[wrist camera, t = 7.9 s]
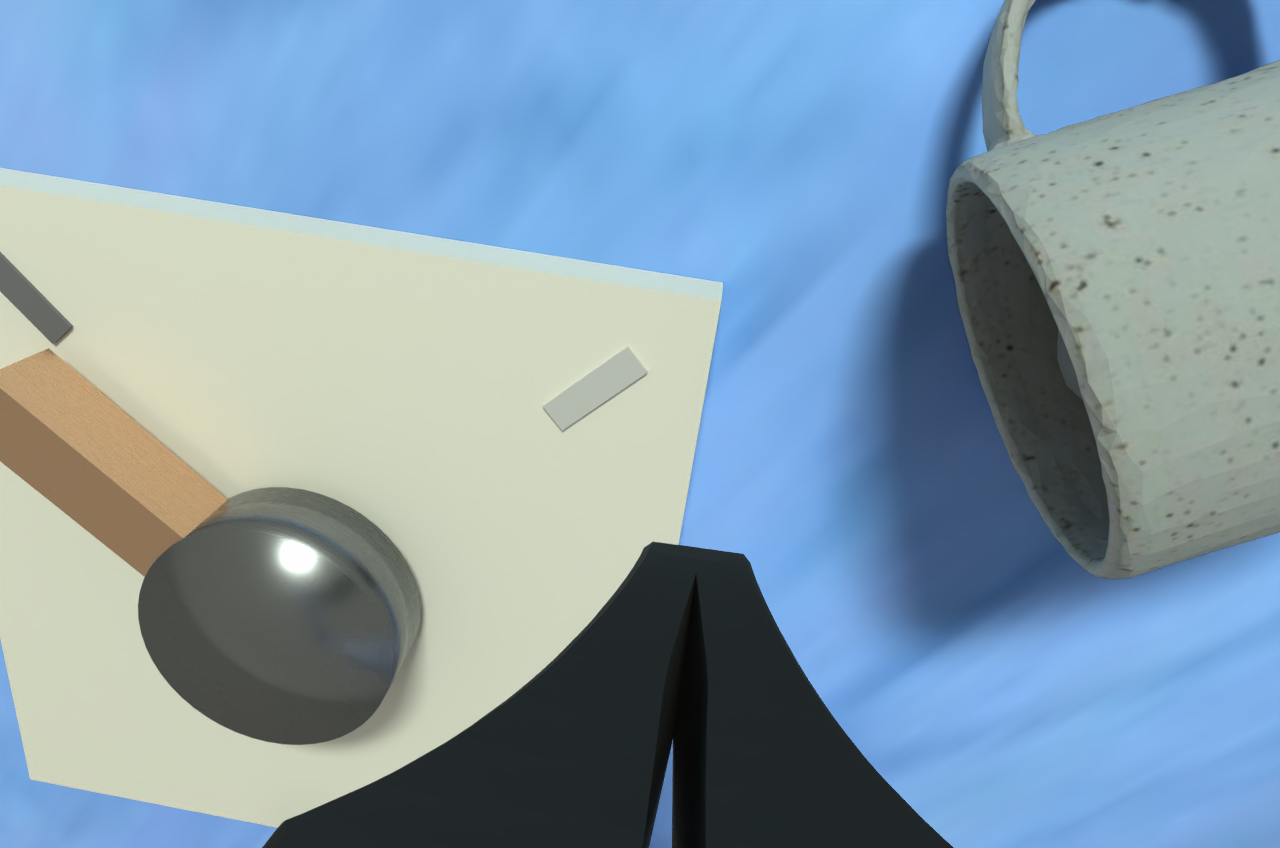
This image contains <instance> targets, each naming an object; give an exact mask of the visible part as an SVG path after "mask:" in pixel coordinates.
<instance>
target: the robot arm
mask: <svg viewBox="0 0 1280 848" xmlns="http://www.w3.org/2000/svg"><path fill="white" fill-rule="evenodd" d="M672 740H673V803H672V848H953V847H952V846H951V845H950V844H949V843H948V842H947V841H945V840H944V839H943V838H942V837H941V836H940V835H939V834H938V833H937V832H936V831H935V830H934V829H933V828H932V827H931V826H930V825H929V824H928V823H926V822H925V821H924V820H923V819H922V818H921V817H920V816H919V815H918V814H917V813H916V812H915V811H914V810H913V809H912V808H911V806H910V805H909V804H908V803H907V802H906V801H905V800H904V799H903V798H902V797H901V796H900V795H899V794H898V793H897V792H896V791H895V790H894V789H893V788H892V787H891V786H890V785H889V784H888V783H887V782H886V781H885V780H884V779H883V778H882V776H881V775H880V774H879V773H878V772H877V771H876V770H875V769H874V767H873V766H872V765H871V764H870V763H869V762H868V761H867V759H866V758H865V757H864V756H863V755H862V753H861V752H860V751H859V750H858V748H857V747H856V746H855V744H854V743H853V742H852V741H851V739H850V738H849V737H848V736H847V734H846V733H845V732H844V731H843V729H842V728H841V727H840V725H839V724H838V722H837V721H836V720H835V718H834V717H833V716H832V714H831V713H830V711H829V710H828V709H827V707H826V706H825V704H824V703H823V701H822V700H821V698H820V697H819V695H818V694H817V692H816V691H815V689H814V688H813V686H812V685H811V683H810V682H809V680H808V678H807V677H806V675H805V674H804V672H803V670H802V669H801V667H800V665H799V664H798V662H797V660H796V659H795V657H794V655H793V653H792V652H791V650H790V648H789V646H788V644H787V643H786V641H785V639H784V637H783V635H782V634H781V632H780V630H779V628H778V626H777V624H776V622H775V620H774V618H773V616H772V614H771V612H770V610H769V608H768V606H767V604H766V602H765V600H764V597H763V595H762V593H761V591H760V588H759V586H758V583H757V581H756V578H755V576H754V573H753V570H752V567H751V564H750V562H749V561H748V559H747V558H746V557H745V555H744V554H739V553H732V552H724V551H717V550H710V549H703V548H696V547H689V546H682V545H674V544H667V543H660V542H652V543H650V544H649V545H647V546H646V547H644V548H643V551H642V553H641V555H640V557H639V558H638V560H637V562H636V563H635V565H634V567H633V568H632V570H631V571H630V573H629V574H628V575H627V577H626V578H625V580H624V581H623V582H622V584H621V585H620V586H619V588H618V589H617V590H616V592H615V593H614V594H613V595H612V597H611V598H610V599H609V600H608V601H607V603H606V604H605V605H604V606H603V607H602V609H601V610H600V611H599V612H598V613H597V615H596V616H595V617H594V618H593V619H592V621H591V622H590V623H589V624H588V625H587V626H586V627H585V628H584V629H583V630H582V631H581V632H580V633H579V634H578V635H577V636H576V637H575V638H574V639H573V640H572V642H571V643H570V644H569V645H568V646H567V647H566V648H565V649H564V650H563V651H562V652H561V653H560V654H559V655H558V656H557V657H556V658H555V659H554V660H553V661H552V662H550V663H549V664H548V665H547V666H546V667H545V668H544V669H543V670H542V671H541V672H539V673H538V674H537V675H536V676H535V677H534V678H533V679H531V680H530V681H529V682H528V683H527V684H525V685H524V686H523V687H522V688H521V689H519V690H518V691H517V692H516V693H514V694H513V695H512V696H511V697H509V698H508V699H507V700H506V701H504V702H503V703H502V704H500V705H499V706H497V707H496V708H495V709H493V710H492V711H490V712H489V713H488V714H486V715H485V716H484V717H482V718H481V719H479V720H478V721H477V722H475V723H474V724H473V725H471V726H470V727H468V728H467V729H465V730H464V731H462V732H461V733H459V734H458V735H456V736H455V737H453V738H451V739H450V740H448V741H447V742H445V743H444V744H442V745H440V746H438V747H437V748H435V749H433V750H431V751H430V752H428V753H426V754H424V755H423V756H421V757H419V758H417V759H416V760H414V761H412V762H410V763H409V764H407V765H405V766H403V767H402V768H400V769H398V770H396V771H394V772H392V773H391V774H389V775H387V776H385V777H383V778H381V779H379V780H377V781H374V782H372V783H370V784H368V785H366V786H364V787H362V788H359V789H357V790H355V791H353V792H350V793H348V794H346V795H343V796H341V797H339V798H337V799H334V800H332V801H330V802H328V803H325V804H323V805H321V806H319V807H316V808H314V809H312V810H309V811H307V812H305V813H302V814H300V815H297V816H295V817H292V818H290V819H287V820H285V821H284V822H282V823H281V825H280V826H279V827H278V828H277V830H276V831H275V832H274V833H273V835H272V836H271V837H270V838H269V840H268V841H267V842H266V844H265V845H264V846H263V847H262V848H649V844H650V840H651V835H652V831H653V826H654V822H655V817H656V813H657V808H658V804H659V799H660V795H661V790H662V786H663V781H664V777H665V772H666V768H667V763H668V758H669V754H670V749H671V745H672Z"/></svg>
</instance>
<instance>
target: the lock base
mask: <svg viewBox="0 0 1280 848" xmlns="http://www.w3.org/2000/svg"><path fill="white" fill-rule="evenodd" d="M722 290H723V283H722V282H716V281H710V280H703V279H697V278H691V277H684V276H678V275H672V274H666V273H659V272H653V271H647V270H640V269H634V268H628V267H622V266H615V265H609V264H603V263H596V262H590V261H584V260H578V259H571V258H565V257H559V256H552V255H546V254H540V253H534V252H527V251H521V250H515V249H508V248H502V247H496V246H490V245H483V244H477V243H471V242H464V241H458V240H452V239H445V238H439V237H433V236H427V235H420V234H414V233H408V232H401V231H395V230H389V229H383V228H376V227H370V226H364V225H357V224H351V223H345V222H339V221H332V220H326V219H320V218H313V217H307V216H301V215H295V214H288V213H282V212H276V211H269V210H263V209H257V208H251V207H244V206H238V205H232V204H225V203H219V202H213V201H206V200H200V199H194V198H188V197H181V196H175V195H169V194H162V193H156V192H150V191H144V190H137V189H131V188H125V187H118V186H112V185H106V184H100V183H93V182H87V181H81V180H74V179H68V178H62V177H56V176H49V175H43V174H37V173H30V172H24V171H18V170H12V169H5V168H0V369H2V368H4V367H6V366H9V365H11V364H13V363H15V362H18V361H20V360H22V359H25V358H27V357H29V356H32V355H34V354H36V353H39V352H41V351H43V350H45V349H48V348H49V349H50V350H51V351H53V352H54V353H55V354H56V355H57V356H59V357H60V358H61V359H62V360H63V361H64V362H66V363H67V364H68V365H69V366H70V367H72V368H73V369H74V370H75V371H76V372H77V373H79V374H80V375H81V376H82V377H83V378H85V379H86V380H87V381H88V382H89V383H90V384H92V385H93V386H94V387H95V388H96V389H98V390H99V391H100V392H101V393H102V394H103V395H105V396H106V397H107V398H108V399H109V400H111V401H112V402H113V403H114V404H115V405H116V406H118V407H119V408H120V409H121V410H122V411H124V412H125V413H126V414H127V415H128V416H129V417H131V418H132V419H133V420H134V421H135V422H137V423H138V424H139V425H140V426H141V427H143V428H144V429H145V430H146V431H147V432H148V433H150V434H151V435H152V436H153V437H154V438H156V439H157V440H158V441H159V442H160V443H161V444H163V445H164V446H165V447H166V448H167V449H169V450H170V451H171V452H172V453H173V454H174V455H176V456H177V457H178V458H179V459H180V460H182V461H183V462H184V463H185V464H186V465H187V466H189V467H190V468H191V469H192V470H193V471H195V472H196V473H197V474H198V475H199V476H200V477H202V478H203V479H204V480H205V481H206V482H208V483H209V484H210V485H211V486H212V487H213V488H215V489H216V490H217V491H218V492H219V493H221V494H222V495H223V496H224V497H225V498H226V499H229V498H231V497H233V496H235V495H238V494H240V493H242V492H246V491H250V490H254V489H260V488H268V487H288V488H296V489H303V490H307V491H311V492H315V493H319V494H322V495H325V496H327V497H330V498H333V499H335V500H337V501H339V502H341V503H343V504H345V505H347V506H349V507H351V508H353V509H354V510H356V511H357V512H359V513H361V514H362V515H364V516H365V517H366V518H368V519H369V520H370V521H371V522H373V523H374V524H375V525H376V526H378V527H379V528H380V529H381V530H382V531H383V532H384V533H385V534H386V535H387V536H388V537H389V538H390V540H391V541H392V542H393V543H394V545H395V546H396V547H397V548H398V549H399V551H400V552H401V554H402V556H403V557H404V559H405V560H406V562H407V564H408V566H409V568H410V570H411V572H412V574H413V576H414V579H415V582H416V585H417V588H418V593H419V598H420V609H421V618H420V625H419V630H418V634H417V637H416V640H415V642H414V644H413V646H412V648H411V650H410V652H409V654H408V656H407V657H406V659H405V661H404V663H403V665H402V666H401V668H400V670H399V672H398V674H397V675H396V677H395V679H394V681H393V683H392V684H391V686H390V688H389V690H388V692H387V693H386V695H385V697H384V699H383V701H382V702H381V704H380V706H379V707H378V708H377V710H376V711H375V713H374V714H373V715H372V716H371V717H370V718H369V719H368V720H367V721H366V722H365V723H364V724H363V725H361V726H360V727H358V728H357V729H355V730H354V731H352V732H350V733H348V734H346V735H344V736H342V737H340V738H337V739H334V740H330V741H327V742H322V743H316V744H306V745H288V744H278V743H271V742H266V741H262V740H258V739H254V738H251V737H248V736H245V735H242V734H239V733H237V732H234V731H232V730H230V729H228V728H226V727H223V726H221V725H220V724H218V723H216V722H214V721H213V720H211V719H209V718H207V717H206V716H205V715H203V714H202V713H200V712H199V711H198V710H196V709H195V708H193V707H192V706H191V705H190V704H189V703H187V702H186V701H185V700H184V699H183V698H182V697H181V696H180V695H179V694H178V693H177V692H176V691H175V690H174V689H173V688H172V687H171V686H170V685H169V684H168V682H167V681H166V680H165V679H164V677H163V676H162V675H161V674H160V672H159V670H158V669H157V667H156V666H155V664H154V663H153V661H152V659H151V657H150V655H149V653H148V651H147V649H146V646H145V643H144V640H143V637H142V635H141V630H140V625H139V620H138V601H139V593H140V589H141V586H142V583H143V580H144V578H145V577H144V576H143V575H141V574H140V573H139V572H138V571H136V570H135V569H134V568H133V567H131V566H130V565H129V564H128V563H126V562H125V561H124V560H123V559H121V558H120V557H119V556H118V555H116V554H115V553H114V552H113V551H111V550H110V549H109V548H108V547H106V546H105V545H104V544H103V543H101V542H100V541H99V540H98V539H96V538H95V537H94V536H93V535H91V534H90V533H89V532H88V531H87V530H85V529H84V528H83V527H82V526H80V525H79V524H78V523H77V522H75V521H74V520H73V519H72V518H70V517H69V516H68V515H67V514H65V513H64V512H63V511H62V510H60V509H59V508H58V507H57V506H55V505H54V504H53V503H52V502H50V501H49V500H48V499H47V498H45V497H44V496H43V495H42V494H40V493H39V492H38V491H37V490H35V489H34V488H33V487H32V486H30V485H29V484H28V483H27V482H25V481H24V480H23V479H22V478H20V477H19V476H18V475H17V474H15V473H14V472H13V471H12V470H10V469H9V468H8V467H7V466H5V465H4V464H3V463H2V462H0V638H1V643H2V648H3V652H4V657H5V662H6V667H7V671H8V676H9V681H10V686H11V690H12V695H13V700H14V704H15V709H16V714H17V719H18V723H19V728H20V733H21V738H22V742H23V747H24V752H25V757H26V761H27V766H28V771H29V776H30V779H31V780H36V781H41V782H47V783H52V784H57V785H62V786H67V787H72V788H77V789H82V790H87V791H93V792H98V793H103V794H108V795H113V796H118V797H123V798H128V799H133V800H139V801H144V802H149V803H154V804H159V805H164V806H169V807H174V808H180V809H185V810H190V811H195V812H200V813H205V814H210V815H215V816H220V817H226V818H231V819H236V820H241V821H246V822H251V823H256V824H261V825H267V826H272V827H277V828H278V827H279V826H280V825H281V823H282V822H284V821H285V820H287V819H290V818H292V817H295V816H297V815H300V814H302V813H305V812H307V811H309V810H312V809H314V808H316V807H319V806H321V805H323V804H325V803H328V802H330V801H332V800H334V799H337V798H339V797H341V796H343V795H346V794H348V793H350V792H353V791H355V790H357V789H359V788H362V787H364V786H366V785H368V784H370V783H372V782H374V781H377V780H379V779H381V778H383V777H385V776H387V775H389V774H391V773H392V772H394V771H396V770H398V769H400V768H402V767H403V766H405V765H407V764H409V763H410V762H412V761H414V760H416V759H417V758H419V757H421V756H423V755H424V754H426V753H428V752H430V751H431V750H433V749H435V748H437V747H438V746H440V745H442V744H444V743H445V742H447V741H448V740H450V739H451V738H453V737H455V736H456V735H458V734H459V733H461V732H462V731H464V730H465V729H467V728H468V727H470V726H471V725H473V724H474V723H475V722H477V721H478V720H479V719H481V718H482V717H484V716H485V715H486V714H488V713H489V712H490V711H492V710H493V709H495V708H496V707H497V706H499V705H500V704H502V703H503V702H504V701H506V700H507V699H508V698H509V697H511V696H512V695H513V694H514V693H516V692H517V691H518V690H519V689H521V688H522V687H523V686H524V685H525V684H527V683H528V682H529V681H530V680H531V679H533V678H534V677H535V676H536V675H537V674H538V673H539V672H541V671H542V670H543V669H544V668H545V667H546V666H547V665H548V664H549V663H550V662H552V661H553V660H554V659H555V658H556V657H557V656H558V655H559V654H560V653H561V652H562V651H563V650H564V649H565V648H566V647H567V646H568V645H569V644H570V643H571V642H572V640H573V639H574V638H575V637H576V636H577V635H578V634H579V633H580V632H581V631H582V630H583V629H584V628H585V627H586V626H587V625H588V624H589V623H590V622H591V621H592V619H593V618H594V617H595V616H596V615H597V613H598V612H599V611H600V610H601V609H602V607H603V606H604V605H605V604H606V603H607V601H608V600H609V599H610V598H611V597H612V595H613V594H614V593H615V592H616V590H617V589H618V588H619V586H620V585H621V584H622V582H623V581H624V580H625V578H626V577H627V575H628V574H629V573H630V571H631V570H632V568H633V567H634V565H635V563H636V562H637V560H638V558H639V557H640V555H641V553H642V551H643V548H644V547H646V546H647V545H649V544H650V543H652V542H660V543H667V544H674V545H678V544H679V539H680V533H681V527H682V522H683V516H684V510H685V505H686V499H687V493H688V488H689V482H690V476H691V471H692V465H693V459H694V454H695V448H696V442H697V437H698V431H699V425H700V420H701V414H702V408H703V403H704V397H705V391H706V385H707V380H708V374H709V368H710V363H711V357H712V351H713V346H714V340H715V334H716V329H717V323H718V317H719V312H720V306H721V300H722Z"/></svg>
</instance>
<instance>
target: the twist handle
mask: <svg viewBox="0 0 1280 848" xmlns="http://www.w3.org/2000/svg"><path fill="white" fill-rule="evenodd" d="M0 462H2V463H3V464H4V465H5V466H7V467H8V468H9V469H10V470H12V471H13V472H14V473H15V474H17V475H18V476H19V477H20V478H22V479H23V480H24V481H25V482H27V483H28V484H29V485H30V486H32V487H33V488H34V489H35V490H37V491H38V492H39V493H40V494H42V495H43V496H44V497H45V498H47V499H48V500H49V501H50V502H52V503H53V504H54V505H55V506H57V507H58V508H59V509H60V510H62V511H63V512H64V513H65V514H67V515H68V516H69V517H70V518H72V519H73V520H74V521H75V522H77V523H78V524H79V525H80V526H82V527H83V528H84V529H85V530H87V531H88V532H89V533H90V534H91V535H93V536H94V537H95V538H96V539H98V540H99V541H100V542H101V543H103V544H104V545H105V546H106V547H108V548H109V549H110V550H111V551H113V552H114V553H115V554H116V555H118V556H119V557H120V558H121V559H123V560H124V561H125V562H126V563H128V564H129V565H130V566H131V567H133V568H134V569H135V570H136V571H138V572H139V573H140V574H141V575H143V576H144V577H145V578H144V580H143V583H142V586H141V589H140V593H139V601H138V620H139V625H140V630H141V635H142V637H143V640H144V643H145V646H146V649H147V651H148V653H149V655H150V657H151V659H152V661H153V663H154V664H155V666H156V667H157V669H158V670H159V672H160V674H161V675H162V676H163V677H164V679H165V680H166V681H167V682H168V684H169V685H170V686H171V687H172V688H173V689H174V690H175V691H176V692H177V693H178V694H179V695H180V696H181V697H182V698H183V699H184V700H185V701H186V702H187V703H189V704H190V705H191V706H192V707H193V708H195V709H196V710H198V711H199V712H200V713H202V714H203V715H205V716H206V717H207V718H209V719H211V720H213V721H214V722H216V723H218V724H220V725H221V726H223V727H226V728H228V729H230V730H232V731H234V732H237V733H239V734H242V735H245V736H248V737H251V738H254V739H258V740H262V741H266V742H271V743H278V744H288V745H306V744H316V743H322V742H327V741H330V740H334V739H337V738H340V737H342V736H344V735H346V734H348V733H350V732H352V731H354V730H355V729H357V728H358V727H360V726H361V725H363V724H364V723H365V722H366V721H367V720H368V719H369V718H370V717H371V716H372V715H373V714H374V713H375V711H376V710H377V708H378V707H379V706H380V704H381V702H382V701H383V699H384V697H385V695H386V693H387V692H388V690H389V688H390V686H391V684H392V683H393V681H394V679H395V677H396V675H397V674H398V672H399V670H400V668H401V666H402V665H403V663H404V661H405V659H406V657H407V656H408V654H409V652H410V650H411V648H412V646H413V644H414V642H415V640H416V637H417V634H418V630H419V625H420V618H421V609H420V598H419V593H418V588H417V585H416V582H415V579H414V576H413V574H412V572H411V570H410V568H409V566H408V564H407V562H406V560H405V559H404V557H403V556H402V554H401V552H400V551H399V549H398V548H397V547H396V546H395V545H394V543H393V542H392V541H391V540H390V538H389V537H388V536H387V535H386V534H385V533H384V532H383V531H382V530H381V529H380V528H379V527H378V526H376V525H375V524H374V523H373V522H371V521H370V520H369V519H368V518H366V517H365V516H364V515H362V514H361V513H359V512H357V511H356V510H354V509H353V508H351V507H349V506H347V505H345V504H343V503H341V502H339V501H337V500H335V499H333V498H330V497H327V496H325V495H322V494H319V493H315V492H311V491H307V490H303V489H296V488H288V487H268V488H260V489H254V490H250V491H246V492H242V493H240V494H238V495H235V496H233V497H231V498H229V499H226V498H225V497H224V496H223V495H222V494H221V493H219V492H218V491H217V490H216V489H215V488H213V487H212V486H211V485H210V484H209V483H208V482H206V481H205V480H204V479H203V478H202V477H200V476H199V475H198V474H197V473H196V472H195V471H193V470H192V469H191V468H190V467H189V466H187V465H186V464H185V463H184V462H183V461H182V460H180V459H179V458H178V457H177V456H176V455H174V454H173V453H172V452H171V451H170V450H169V449H167V448H166V447H165V446H164V445H163V444H161V443H160V442H159V441H158V440H157V439H156V438H154V437H153V436H152V435H151V434H150V433H148V432H147V431H146V430H145V429H144V428H143V427H141V426H140V425H139V424H138V423H137V422H135V421H134V420H133V419H132V418H131V417H129V416H128V415H127V414H126V413H125V412H124V411H122V410H121V409H120V408H119V407H118V406H116V405H115V404H114V403H113V402H112V401H111V400H109V399H108V398H107V397H106V396H105V395H103V394H102V393H101V392H100V391H99V390H98V389H96V388H95V387H94V386H93V385H92V384H90V383H89V382H88V381H87V380H86V379H85V378H83V377H82V376H81V375H80V374H79V373H77V372H76V371H75V370H74V369H73V368H72V367H70V366H69V365H68V364H67V363H66V362H64V361H63V360H62V359H61V358H60V357H59V356H57V355H56V354H55V353H54V352H53V351H51V350H50V349H49V348H48V349H45V350H43V351H41V352H39V353H36V354H34V355H32V356H29V357H27V358H25V359H22V360H20V361H18V362H15V363H13V364H11V365H9V366H6V367H4V368H2V369H0Z"/></svg>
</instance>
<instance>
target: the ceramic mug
mask: <svg viewBox="0 0 1280 848" xmlns="http://www.w3.org/2000/svg"><path fill="white" fill-rule="evenodd" d="M1035 1H1036V0H1005V1H1004V4H1003V6H1002V8H1001V11H1000V13H999V15H998V17H997V19H996V21H995V24H994V27H993V30H992V34H991V37H990V40H989V43H988V48H987V52H986V56H985V60H984V65H983V81H982V115H983V134H984V138H985V143H986V147H987V152H986V153H983V154H980V155H978V156H975V157H972V158H970V159H968V160H966V161H964V162H963V163H962V164H960V165H959V166H958V168H957V169H956V170H955V171H954V173H953V175H952V177H951V179H950V182H949V188H948V199H947V208H946V219H947V230H946V231H947V243H948V256H949V259H950V263H951V266H952V270H953V275H954V280H955V285H956V293H957V301H958V306H959V310H960V314H961V317H962V321H963V325H964V328H965V332H966V335H967V339H968V342H969V346H970V349H971V355H972V359H973V362H974V364H975V366H976V368H977V370H978V375H979V380H980V382H981V385H982V388H983V390H984V393H985V395H986V398H987V400H988V403H989V406H990V409H991V412H992V415H993V418H994V420H995V423H996V426H997V428H998V431H999V433H1000V435H1001V437H1002V440H1003V442H1004V444H1005V447H1006V449H1007V452H1008V455H1009V457H1010V460H1011V462H1012V465H1013V467H1014V469H1015V470H1016V472H1017V473H1018V475H1019V477H1020V478H1021V480H1022V482H1023V483H1024V485H1025V488H1026V490H1027V493H1028V495H1029V497H1030V499H1031V501H1032V502H1033V503H1034V505H1035V506H1036V508H1037V509H1038V511H1039V512H1040V513H1041V517H1042V519H1043V520H1044V521H1045V523H1046V524H1047V525H1048V527H1049V528H1050V530H1051V532H1052V534H1053V535H1054V536H1055V537H1056V539H1057V540H1058V541H1059V542H1060V543H1061V544H1062V546H1063V547H1064V548H1065V550H1066V551H1067V552H1068V554H1069V555H1070V556H1071V557H1072V558H1073V559H1074V560H1075V561H1076V562H1077V563H1079V564H1080V565H1081V566H1082V567H1083V568H1084V569H1085V570H1086V571H1088V572H1089V573H1090V574H1092V575H1094V576H1096V577H1101V578H1107V579H1124V578H1132V577H1135V576H1138V575H1141V574H1144V573H1147V572H1150V571H1153V570H1156V569H1159V568H1162V567H1165V566H1168V565H1171V564H1174V563H1177V562H1180V561H1183V560H1187V559H1190V558H1193V557H1196V556H1200V555H1203V554H1206V553H1210V552H1213V551H1217V550H1220V549H1224V548H1227V547H1231V546H1234V545H1238V544H1241V543H1245V542H1248V541H1251V540H1255V539H1258V538H1261V537H1265V536H1268V535H1272V534H1275V533H1278V532H1280V60H1278V61H1276V62H1273V63H1270V64H1267V65H1265V66H1262V67H1259V68H1257V69H1254V70H1252V71H1249V72H1247V73H1244V74H1242V75H1239V76H1236V77H1232V78H1229V79H1226V80H1223V81H1220V82H1217V83H1213V84H1210V85H1206V86H1203V87H1199V88H1195V89H1192V90H1188V91H1185V92H1182V93H1178V94H1175V95H1171V96H1168V97H1164V98H1160V99H1156V100H1153V101H1150V102H1147V103H1144V104H1141V105H1138V106H1135V107H1132V108H1128V109H1125V110H1122V111H1118V112H1115V113H1111V114H1107V115H1103V116H1100V117H1096V118H1094V119H1091V120H1088V121H1084V122H1080V123H1077V124H1073V125H1069V126H1066V127H1063V128H1061V129H1058V130H1056V131H1053V132H1051V133H1049V134H1045V135H1034V134H1033V133H1031V132H1030V131H1029V130H1028V129H1026V128H1025V127H1024V124H1023V122H1022V119H1021V117H1020V115H1019V110H1018V103H1017V96H1016V93H1017V88H1018V82H1019V81H1018V66H1019V56H1020V46H1021V35H1022V31H1023V28H1024V24H1025V21H1026V18H1027V14H1028V11H1029V10H1030V8H1031V7H1032V5H1033V4H1034V2H1035Z"/></svg>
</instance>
